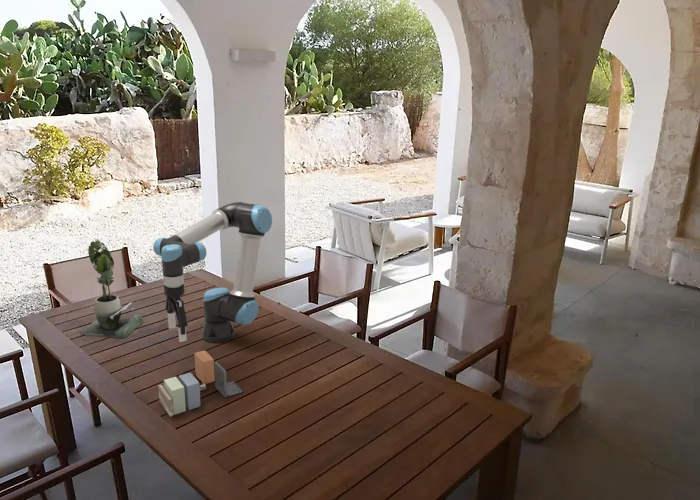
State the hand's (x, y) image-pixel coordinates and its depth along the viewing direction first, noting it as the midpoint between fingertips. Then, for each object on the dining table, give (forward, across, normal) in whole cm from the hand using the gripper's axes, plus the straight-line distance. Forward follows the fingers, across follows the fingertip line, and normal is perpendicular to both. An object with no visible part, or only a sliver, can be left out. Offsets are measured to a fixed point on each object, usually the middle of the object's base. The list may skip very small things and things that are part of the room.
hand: (177, 334), depth 228 cm
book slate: (+20, +20, -2) cm, 28 cm away
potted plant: (+20, -62, -13) cm, 66 cm away
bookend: (+19, +19, +13) cm, 30 cm away
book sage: (+20, +20, -8) cm, 29 cm away
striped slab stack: (+19, +19, -3) cm, 27 cm away
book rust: (+20, +5, +8) cm, 22 cm away
